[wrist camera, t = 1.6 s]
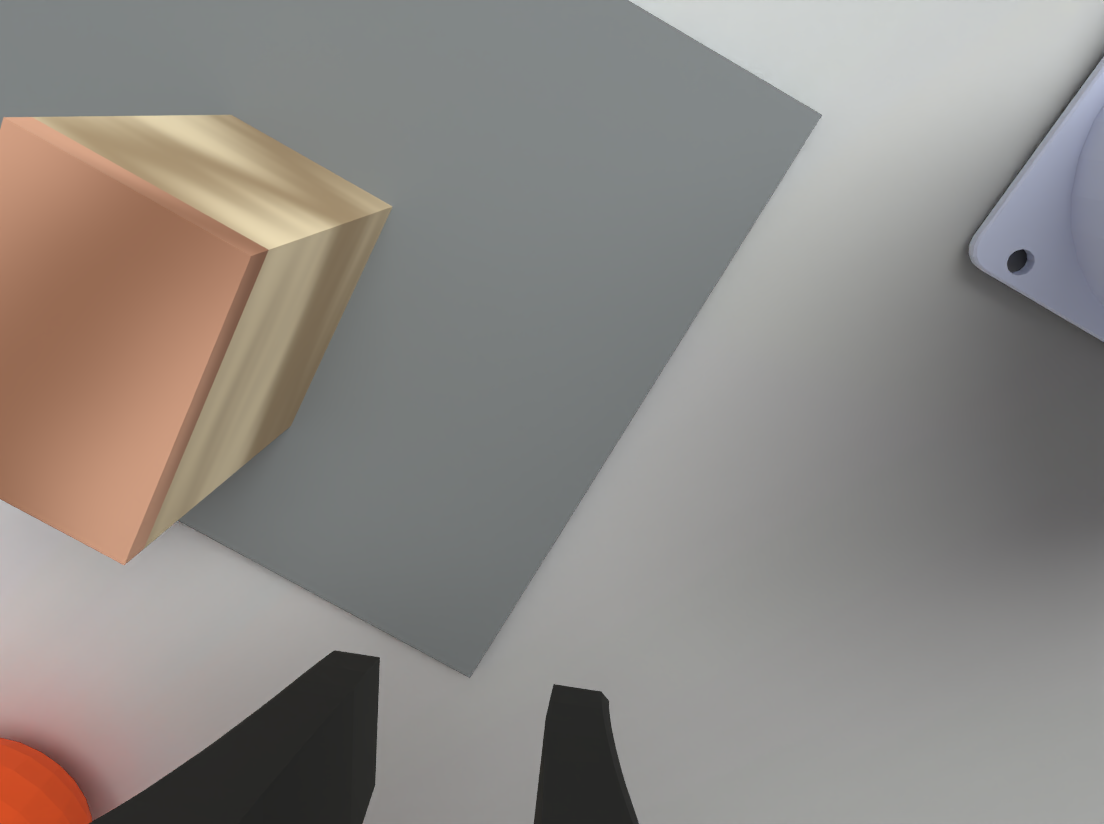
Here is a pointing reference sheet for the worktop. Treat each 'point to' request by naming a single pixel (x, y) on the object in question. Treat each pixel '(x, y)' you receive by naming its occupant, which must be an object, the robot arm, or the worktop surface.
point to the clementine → (37, 789)
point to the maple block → (159, 310)
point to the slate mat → (450, 259)
